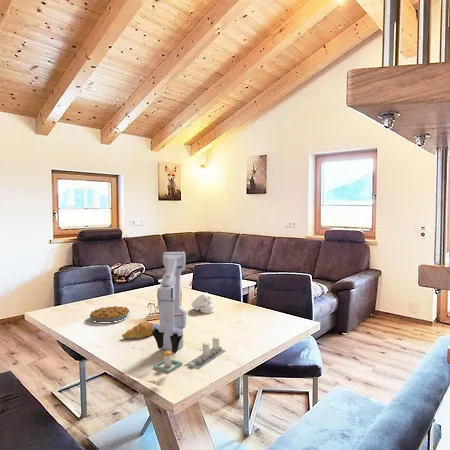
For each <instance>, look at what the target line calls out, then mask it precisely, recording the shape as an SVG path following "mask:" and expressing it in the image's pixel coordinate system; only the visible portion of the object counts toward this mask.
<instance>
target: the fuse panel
mask: <svg viewBox="0 0 450 450" xmlns="http://www.w3.org/2000/svg"><path fill="white" fill-rule="evenodd" d="M225 352H227V350H225V349H222V346H220V345H219V352H218V353H216V350H213V347H212V348H210V358H209V359H206V357H205V356H203V353H202V354H200V355H199V356H197V357H195V358H194V359H192V360H191V361H189V362H186V364H184V367H188V368H192V369H195V370H200V369H202V368H203V367H205V366H206V365H208V364H209V363H210V362H212V361H213V360H215V359H217V357H220V355H222V354H224V353H225Z"/></svg>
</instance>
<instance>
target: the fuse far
mask: <svg viewBox="0 0 450 450" xmlns="http://www.w3.org/2000/svg"><path fill="white" fill-rule="evenodd" d="M211 339H212V340H211V341H212V348H213V350H216V353H218V352H219V346H220V337H219V336H213V337H212V338H211Z"/></svg>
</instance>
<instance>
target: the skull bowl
mask: <svg viewBox="0 0 450 450" xmlns="http://www.w3.org/2000/svg"><path fill="white" fill-rule="evenodd" d="M191 307H192V308H193V310H195V311H200V312H201V313H204V314H213V313H214V312H215V310H214V306H213V300H212V299H211V296H210V294H209V293H208V292H205V293H202V294H200V295H199V296H198V297H196V298H195V299H194V300H193V301H192V302H191Z"/></svg>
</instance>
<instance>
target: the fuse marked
mask: <svg viewBox="0 0 450 450" xmlns="http://www.w3.org/2000/svg"><path fill="white" fill-rule="evenodd" d="M172 354H173V352H172V350H165V351H164V352H163V360H164V363H163V364H164V367H163V368H166V369H170V368H172V367H173V363H172V359H173V358H172V357H173V356H172Z"/></svg>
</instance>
